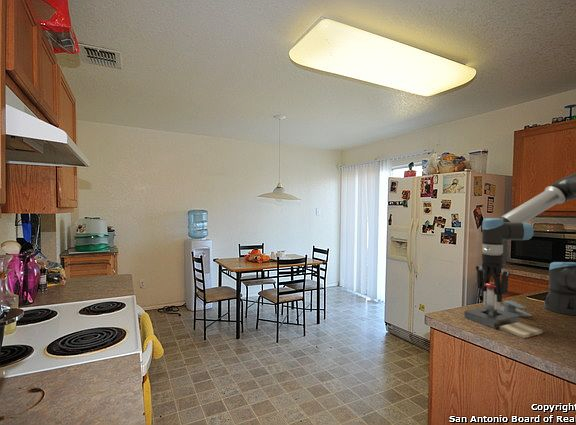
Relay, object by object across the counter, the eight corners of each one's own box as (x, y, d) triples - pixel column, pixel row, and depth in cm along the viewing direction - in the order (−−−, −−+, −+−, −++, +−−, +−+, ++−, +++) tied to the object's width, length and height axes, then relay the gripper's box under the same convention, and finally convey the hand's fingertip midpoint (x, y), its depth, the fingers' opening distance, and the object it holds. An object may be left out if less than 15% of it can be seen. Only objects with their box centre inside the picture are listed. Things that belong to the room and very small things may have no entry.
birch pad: (517, 324, 129) (518, 321, 129) (542, 333, 121) (542, 330, 121) (499, 329, 124) (499, 326, 124) (524, 338, 116) (524, 335, 116)
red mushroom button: (489, 314, 138) (489, 281, 138) (503, 319, 133) (503, 284, 132) (480, 316, 136) (480, 282, 135) (494, 321, 130) (494, 285, 130)
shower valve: (510, 307, 136) (487, 297, 151) (510, 319, 136) (487, 308, 151) (537, 307, 136) (512, 297, 151) (537, 319, 136) (511, 308, 151)
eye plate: (488, 312, 143) (488, 306, 143) (518, 322, 131) (518, 315, 131) (464, 317, 137) (464, 310, 137) (494, 328, 125) (494, 321, 125)
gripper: (468, 251, 140) (467, 302, 140) (507, 257, 124) (506, 314, 125) (479, 250, 143) (478, 300, 143) (518, 256, 127) (518, 312, 128)
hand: (491, 307), depth 134 cm, fingers closed on red mushroom button, 4 cm apart
